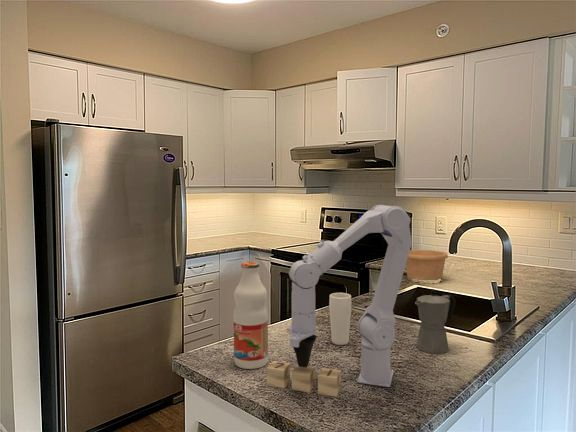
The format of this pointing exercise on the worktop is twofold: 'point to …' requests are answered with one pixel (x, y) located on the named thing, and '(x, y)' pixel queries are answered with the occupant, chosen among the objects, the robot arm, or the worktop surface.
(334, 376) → the block one
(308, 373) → the plain block
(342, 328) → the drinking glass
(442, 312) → the coffeepot
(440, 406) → the worktop surface
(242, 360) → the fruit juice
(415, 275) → the pottery
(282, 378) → the block seven
